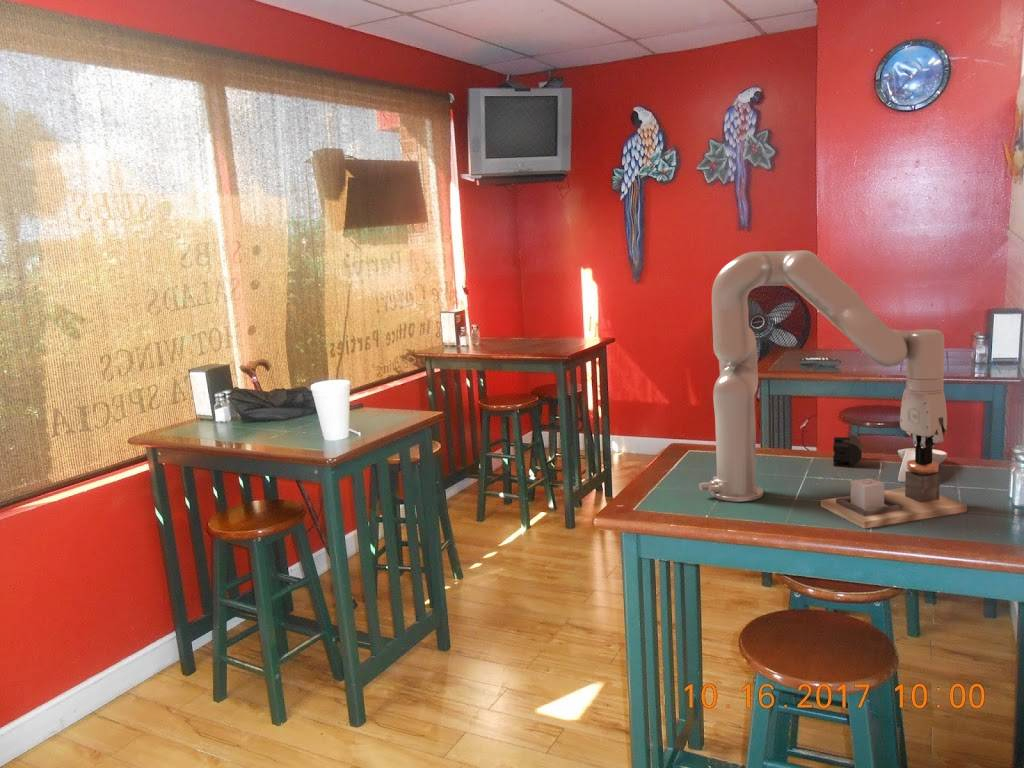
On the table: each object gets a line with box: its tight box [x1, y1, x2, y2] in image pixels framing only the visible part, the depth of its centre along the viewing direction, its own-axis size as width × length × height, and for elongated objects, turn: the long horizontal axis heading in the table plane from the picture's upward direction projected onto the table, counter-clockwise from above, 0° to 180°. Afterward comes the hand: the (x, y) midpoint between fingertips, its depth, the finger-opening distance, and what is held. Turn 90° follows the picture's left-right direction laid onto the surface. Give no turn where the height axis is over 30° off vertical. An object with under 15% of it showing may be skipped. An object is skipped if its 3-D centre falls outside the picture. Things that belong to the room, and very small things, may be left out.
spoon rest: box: [897, 447, 948, 483], centre depth 212 cm, size 24×12×7 cm, turn 145°
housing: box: [850, 477, 885, 510], centre depth 185 cm, size 5×5×6 cm
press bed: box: [820, 471, 968, 529], centre depth 186 cm, size 26×16×8 cm, turn 103°
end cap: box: [832, 434, 863, 468], centre depth 223 cm, size 10×7×7 cm
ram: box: [907, 460, 939, 476], centre depth 187 cm, size 6×6×7 cm
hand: (923, 463), depth 186 cm, fingers closed
